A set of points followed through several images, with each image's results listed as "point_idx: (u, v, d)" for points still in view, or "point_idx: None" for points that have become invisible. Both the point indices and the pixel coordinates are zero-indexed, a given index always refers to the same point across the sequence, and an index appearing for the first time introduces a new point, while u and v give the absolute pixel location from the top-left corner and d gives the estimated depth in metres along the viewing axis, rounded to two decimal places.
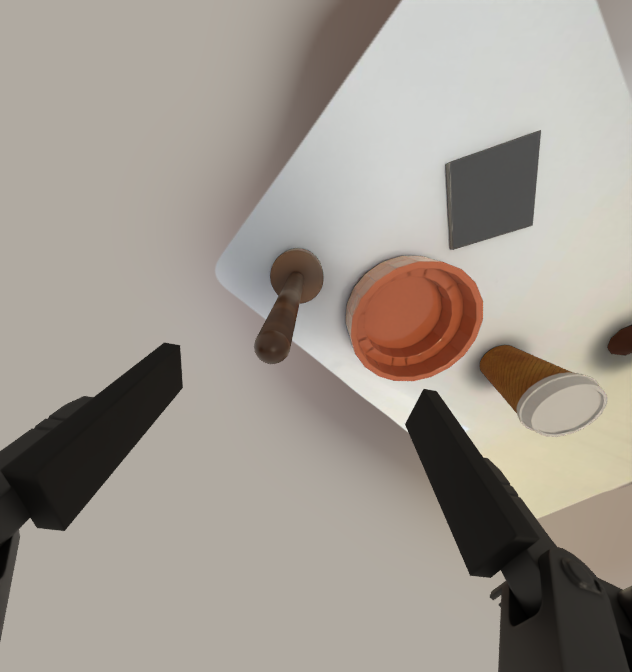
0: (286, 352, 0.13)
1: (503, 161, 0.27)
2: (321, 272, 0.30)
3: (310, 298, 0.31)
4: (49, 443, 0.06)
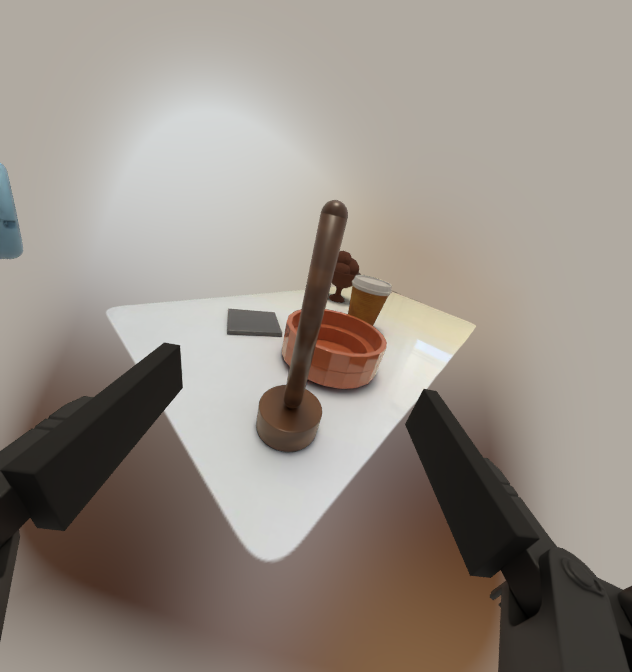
0: None
1: (237, 316, 0.47)
2: None
3: (315, 398, 0.27)
4: (49, 443, 0.06)
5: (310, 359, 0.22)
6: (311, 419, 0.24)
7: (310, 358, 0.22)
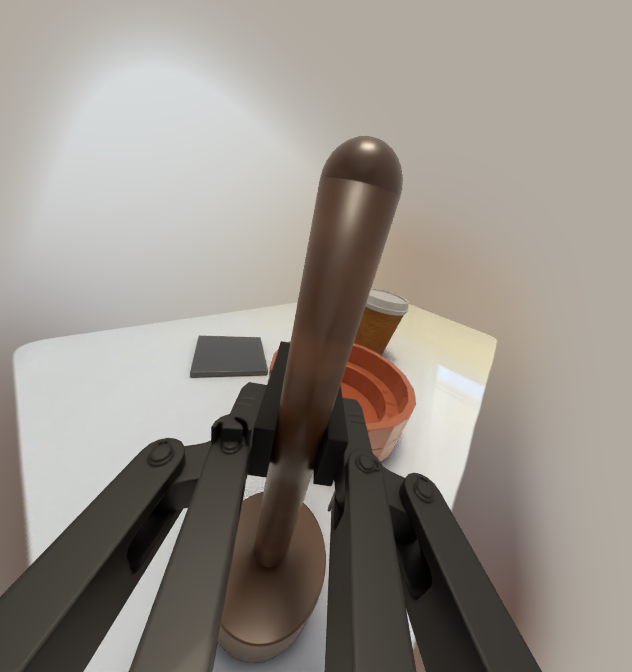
0: None
1: (209, 348, 0.35)
2: None
3: (313, 520, 0.16)
4: (267, 412, 0.09)
5: (301, 501, 0.10)
6: (306, 588, 0.13)
7: (301, 499, 0.10)
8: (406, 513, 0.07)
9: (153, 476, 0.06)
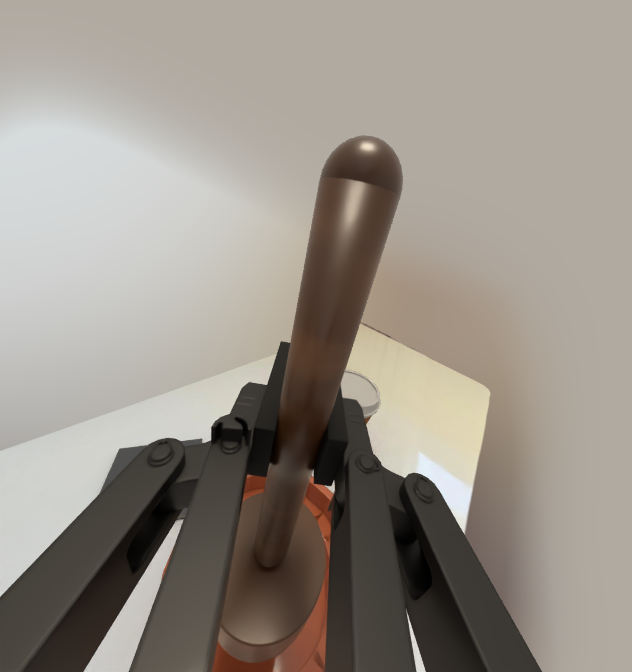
0: None
1: None
2: None
3: (313, 520, 0.16)
4: (267, 412, 0.09)
5: (301, 501, 0.10)
6: (306, 589, 0.13)
7: (301, 499, 0.10)
8: (405, 513, 0.07)
9: (153, 476, 0.06)
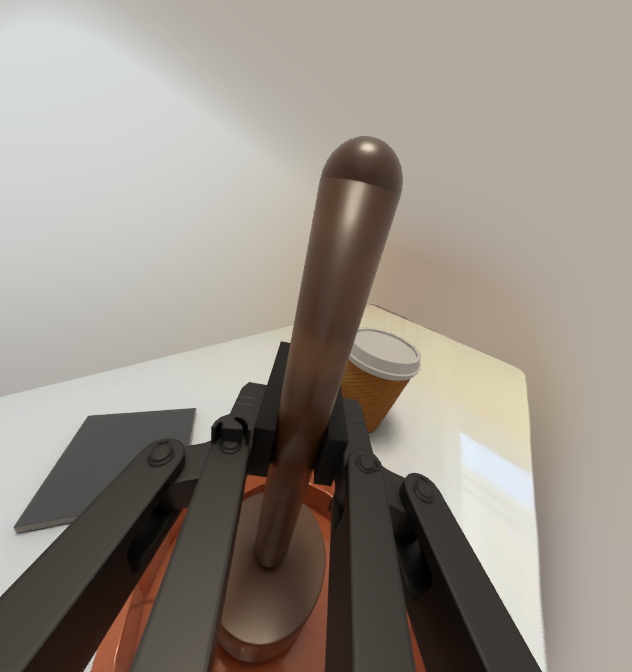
0: None
1: (91, 446, 0.21)
2: None
3: (313, 520, 0.16)
4: (267, 412, 0.09)
5: (301, 501, 0.10)
6: (306, 588, 0.13)
7: (301, 499, 0.10)
8: (405, 514, 0.07)
9: (153, 476, 0.06)
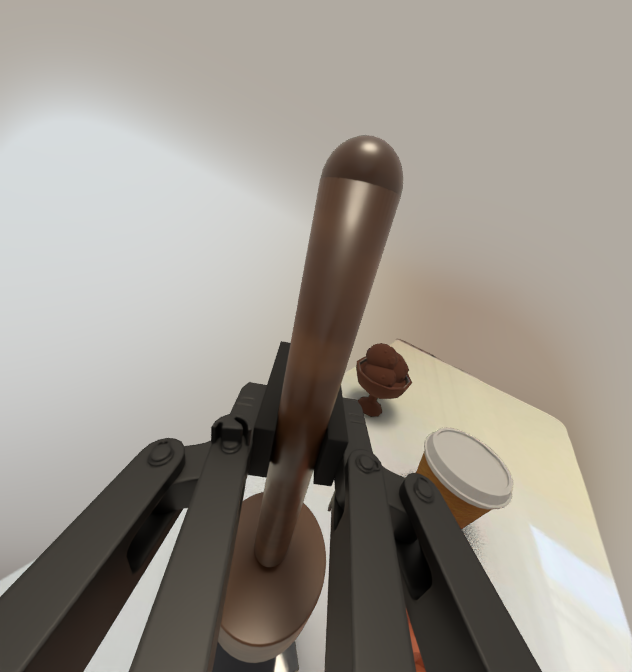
0: None
1: None
2: None
3: (313, 520, 0.16)
4: (267, 412, 0.09)
5: (301, 501, 0.10)
6: (306, 589, 0.13)
7: (301, 499, 0.10)
8: (405, 513, 0.07)
9: (153, 476, 0.06)
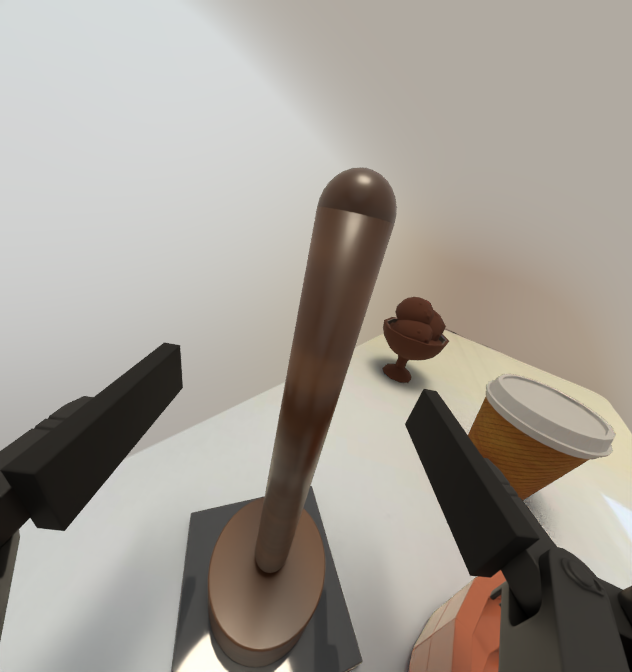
0: None
1: None
2: None
3: (313, 526, 0.16)
4: (49, 443, 0.06)
5: (301, 509, 0.11)
6: (306, 594, 0.13)
7: (301, 507, 0.11)
8: None
9: None
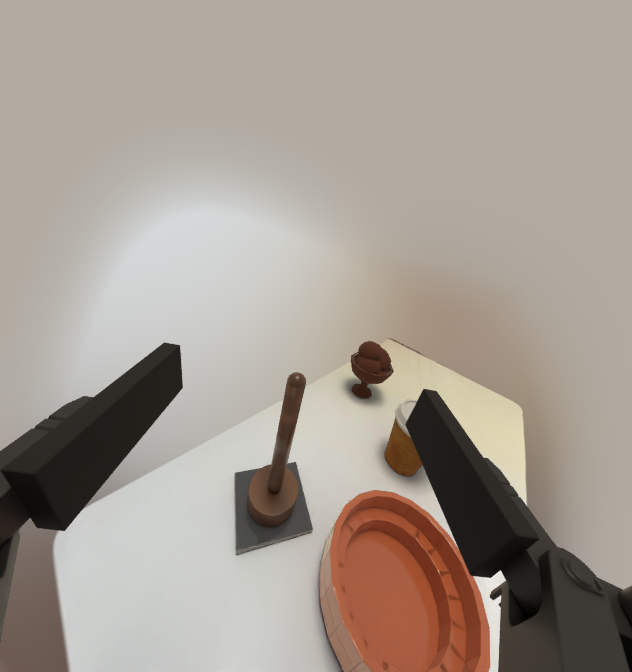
0: None
1: None
2: None
3: (294, 477, 0.34)
4: (49, 443, 0.06)
5: (286, 462, 0.29)
6: (289, 500, 0.31)
7: (286, 461, 0.29)
8: None
9: None
